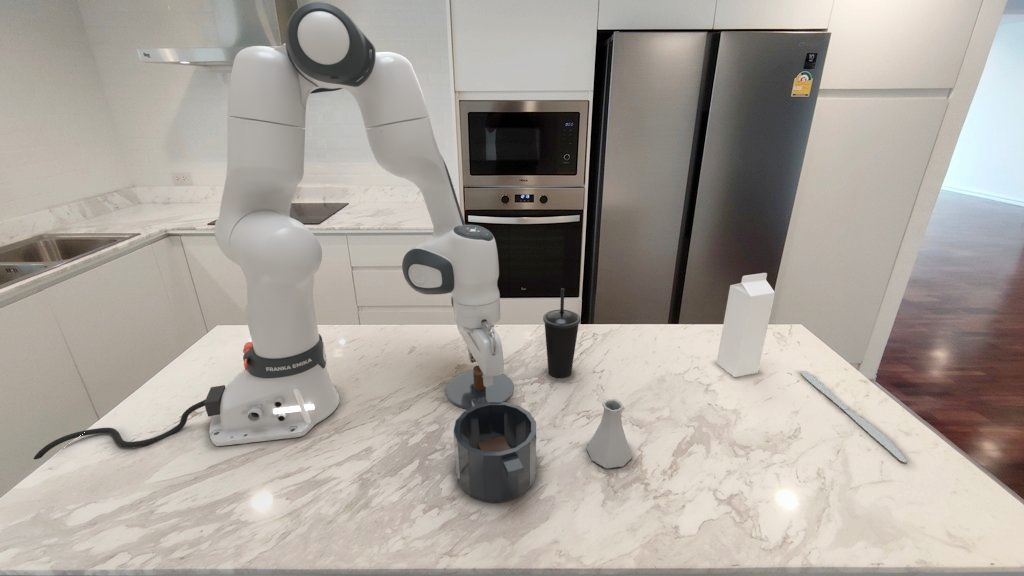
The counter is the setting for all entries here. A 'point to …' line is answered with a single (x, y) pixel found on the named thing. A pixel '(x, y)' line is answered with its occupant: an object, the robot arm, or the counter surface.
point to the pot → (495, 471)
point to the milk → (745, 325)
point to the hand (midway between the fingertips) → (480, 372)
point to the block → (494, 445)
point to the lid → (477, 388)
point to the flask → (610, 438)
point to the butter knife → (856, 418)
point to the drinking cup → (561, 339)
